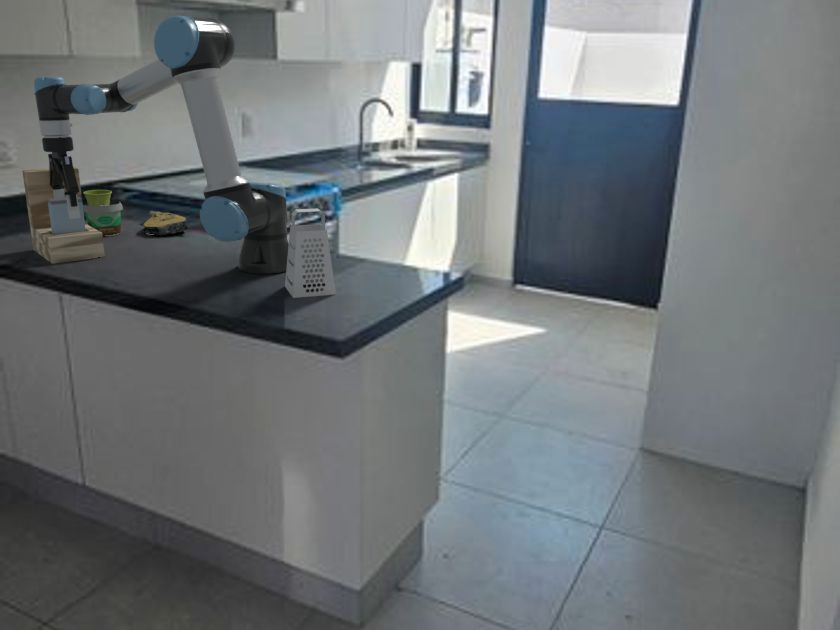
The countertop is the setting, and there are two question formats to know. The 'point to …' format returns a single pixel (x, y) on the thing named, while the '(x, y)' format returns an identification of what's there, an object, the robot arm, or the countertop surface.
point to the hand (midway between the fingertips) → (68, 215)
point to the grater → (309, 259)
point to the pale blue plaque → (65, 217)
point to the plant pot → (98, 197)
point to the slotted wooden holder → (40, 225)
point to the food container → (104, 218)
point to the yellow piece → (165, 223)
